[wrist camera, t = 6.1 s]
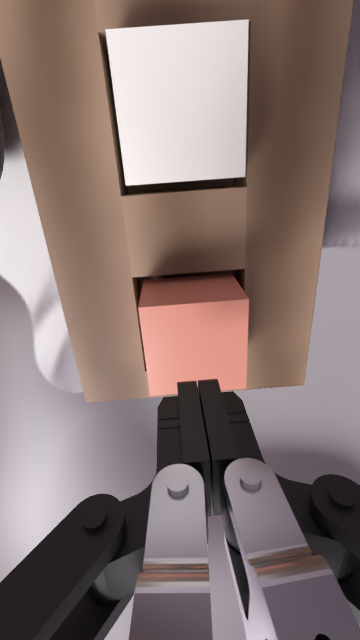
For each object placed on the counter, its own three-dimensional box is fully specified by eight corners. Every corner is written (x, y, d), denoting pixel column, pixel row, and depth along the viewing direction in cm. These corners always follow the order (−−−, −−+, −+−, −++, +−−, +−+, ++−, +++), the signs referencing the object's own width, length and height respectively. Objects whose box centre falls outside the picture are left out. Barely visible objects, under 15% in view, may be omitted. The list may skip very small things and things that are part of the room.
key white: (227, 57, 14) (248, 19, 11) (227, 175, 17) (245, 176, 13) (120, 64, 14) (105, 29, 11) (134, 182, 17) (125, 185, 13)
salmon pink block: (231, 273, 18) (248, 299, 14) (231, 349, 20) (246, 388, 16) (143, 279, 18) (138, 307, 14) (153, 355, 20) (150, 396, 16)
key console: (314, -3, 15) (361, -58, 11) (282, 352, 24) (304, 385, 20) (23, 17, 15) (-23, -32, 11) (98, 367, 24) (86, 402, 20)
